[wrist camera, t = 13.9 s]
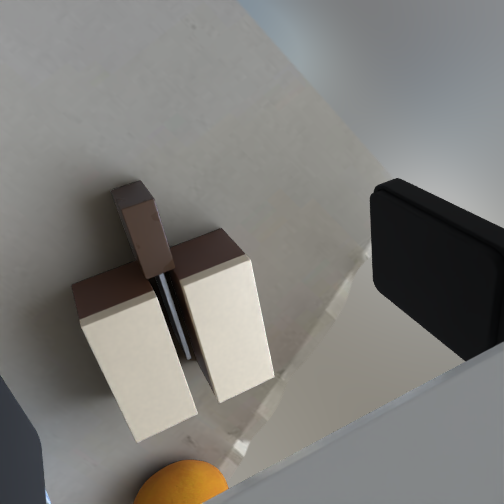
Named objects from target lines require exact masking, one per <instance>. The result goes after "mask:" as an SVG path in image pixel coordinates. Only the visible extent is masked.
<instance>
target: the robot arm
mask: <svg viewBox="0 0 504 504" xmlns="http://www.w3.org/2000/svg"><path fill="white" fill-rule="evenodd" d="M370 217H371V243H372V268H373V282H374V285H375V287H376V288H377V290H378V291H379V292H380V293H381V294H383V295H384V296H385V297H386V298H388V299H389V300H390V301H391V302H393V303H394V304H395V305H396V306H398V307H399V308H400V309H401V310H403V311H404V312H405V313H406V314H407V315H409V316H410V317H411V318H412V319H414V320H415V321H416V322H417V323H419V324H420V325H421V326H422V327H423V328H425V329H426V330H427V331H428V332H430V333H431V334H432V335H433V336H435V337H436V338H437V339H438V340H440V341H441V342H442V343H443V344H445V345H446V346H447V347H448V348H450V349H451V350H452V351H454V353H456V354H457V355H458V356H460V357H461V358H462V359H463V360H465V361H466V362H464V363H462V364H460V365H459V366H457V367H455V368H453V369H451V370H449V371H447V372H445V373H443V374H442V375H440V376H438V377H436V378H434V379H432V380H430V381H428V382H426V383H424V384H423V385H421V386H419V387H417V388H415V389H413V390H411V391H409V392H408V393H406V394H404V395H402V396H400V397H398V398H396V399H394V400H393V401H391V402H389V403H387V404H385V405H383V406H381V407H379V408H378V409H376V410H374V411H372V412H370V413H368V414H366V415H365V416H363V417H361V418H359V419H357V420H355V421H353V422H351V423H350V424H348V425H346V426H344V427H342V428H340V429H338V430H337V431H335V432H333V433H331V434H329V435H327V436H325V437H324V438H322V439H320V440H318V441H316V442H314V443H312V444H311V445H309V446H307V447H305V448H303V449H301V450H299V451H298V452H296V453H294V454H292V455H290V456H288V457H286V458H284V459H283V460H281V461H279V462H277V463H276V464H273V465H272V466H270V467H268V468H266V469H264V470H263V471H261V472H259V473H257V474H255V475H253V476H252V477H250V478H248V479H246V480H244V481H242V482H240V483H239V484H237V485H235V486H233V487H231V488H229V489H227V490H226V491H224V492H222V493H220V494H218V495H216V496H215V497H213V498H211V499H209V500H207V501H205V502H203V503H202V504H504V228H502V227H500V226H498V225H495V224H493V223H491V222H489V221H487V220H485V219H483V218H481V217H479V216H477V215H474V214H473V213H471V212H469V211H466V210H464V209H462V208H460V207H458V206H456V205H454V204H452V203H450V202H448V201H446V200H444V199H441V198H439V197H437V196H435V195H433V194H431V193H429V192H427V191H425V190H423V189H421V188H418V187H417V186H414V185H412V184H410V183H408V182H406V181H404V180H402V179H399V178H396V179H393V180H390V181H387V182H385V183H382V184H380V185H377V186H376V187H375V189H374V193H372V194H371V196H370ZM0 504H46V493H45V482H44V471H43V459H42V448H41V442H40V439H39V436H38V434H37V432H36V430H35V428H34V427H33V425H32V424H31V422H30V420H29V419H28V417H27V416H26V414H25V413H24V411H23V410H22V408H21V407H20V405H19V404H18V402H17V400H16V399H15V397H14V396H13V394H12V393H11V391H10V390H9V388H8V387H7V385H6V383H5V382H4V380H3V379H2V377H1V376H0Z"/></svg>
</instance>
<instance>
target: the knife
mask: <svg viewBox="0 0 504 504" xmlns="http://www.w3.org/2000/svg"><path fill="white" fill-rule="evenodd" d="M111 194H112V196H113V199H114V202H115V205H116V207H117V210H118V213H119V216H120V218H121V221H122V224H123V227H124V229H125V232H126V235H127V238H128V240H129V243H130V246H131V249H132V251H133V254H134V257H135V259H136V261H137V263H138V265H139V267H140V269H141V271H142V273H143V275H144V277H145V279H149V278H152V277H154V276H155V279H156V282H157V285H158V288H159V291H160V294H161V297H162V300H163V302H164V305H165V308H166V311H167V314H168V317H169V320H170V323H171V326H172V328H173V331H174V334H175V336H176V338H177V340H178V342H179V344H180V346H181V348H182V350H183V352H184V354H185V356H186V358H187V360H188V359H190V358H192V357H191V354H190V351H189V348H188V345H187V342H186V339H185V336H184V333H183V330H182V327H181V324H180V321H179V318H178V315H177V312H176V309H175V306H174V303H173V300H172V297H171V294H170V291H169V288H168V285H167V282H166V279H165V276H164V273H165V272H167V271H170V270H172V269H175V263H174V260H173V257H172V254H171V251H170V247H169V244H168V241H167V238H166V235H165V231H164V228H163V225H162V222H161V219H160V215H159V212H158V209H157V206H156V203H155V199H154V198H153V196H152V195H151V194H150V192H149V191H148V190H147V188H146V187H145V185H144V184H143V183H142V181H138V182H135V183H132V184H129V185H126V186H123V187H120V188H117V189H114V190H111Z"/></svg>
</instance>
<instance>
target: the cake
mask: <svg viewBox="0 0 504 504" xmlns="http://www.w3.org/2000/svg"><path fill="white" fill-rule="evenodd" d="M170 251H171V254H172V257H173V260H174V263H175V269H172V270H170V271H168V273H169V276H170V279H171V282H172V285H173V288H174V291H175V294H176V298H177V301H178V304H179V307H180V310H181V313H182V316H183V319H184V322H185V325H186V329H187V332H188V335H189V338H190V341H191V344H192V347H193V350H194V353H195V356H196V360H197V362H198V364H199V366H200V368H201V370H202V372H203V374H204V376H205V377H206V379H207V381H208V383H209V385H210V387H211V389H212V391H213V393H214V395H215V397H216V398H217V400H218V402H219V403H221V402H223V401H225V400H228V399H230V398H232V397H234V396H236V395H238V394H240V393H242V392H244V391H246V390H248V389H250V388H252V387H255V386H257V385H259V384H261V383H263V382H265V381H267V380H269V379H271V378H273V377H274V372H273V367H272V362H271V357H270V352H269V347H268V342H267V338H266V333H265V328H264V323H263V318H262V313H261V308H260V303H259V299H258V294H257V289H256V284H255V279H254V274H253V269H252V264H251V260H250V258H249V257H248V256H247V255H246V254H245V253H244V252H243V251H242V250H241V249H240V248H239V246H238V245H237V244H236V243H235V242H234V241H233V240H232V239H231V238H230V237H229V235H228V234H227V233H226V232H225V231H224V230H223V229H222V228H221V229H218V230H216V231H213V232H210V233H208V234H205V235H202V236H200V237H197V238H194V239H192V240H189V241H186V242H184V243H181V244H178V245H176V246H173V247H170ZM71 286H72V291H73V295H74V299H75V303H76V308H77V312H78V316H79V320H80V325H81V328H82V330H83V333H84V335H85V337H86V339H87V341H88V343H89V345H90V347H91V349H92V351H93V353H94V355H95V358H96V360H97V362H98V364H99V366H100V368H101V370H102V372H103V374H104V376H105V378H106V380H107V383H108V385H109V387H110V389H111V391H112V393H113V395H114V397H115V399H116V401H117V403H118V405H119V408H120V410H121V412H122V414H123V416H124V418H125V420H126V422H127V424H128V426H129V428H130V430H131V433H132V435H133V437H134V439H135V441H136V443H138V442H140V441H142V440H145V439H147V438H149V437H151V436H153V435H155V434H157V433H159V432H161V431H163V430H165V429H167V428H169V427H172V426H174V425H176V424H178V423H180V422H182V421H184V420H186V419H188V418H190V417H192V416H194V415H196V414H198V413H197V410H196V407H195V404H194V401H193V399H192V396H191V393H190V390H189V387H188V384H187V381H186V379H185V376H184V373H183V370H182V367H181V364H180V362H179V359H178V356H177V353H176V350H175V347H174V344H173V342H172V339H171V336H170V333H169V330H168V327H167V324H166V322H165V319H164V316H163V313H162V310H161V307H160V304H159V302H158V299H157V296H156V294H155V292H154V290H153V288H152V286H151V284H150V282H149V280H148V279H145V277H144V275H143V273H142V271H141V269H140V267H139V265H138V263H137V261H133V262H131V263H128V264H125V265H123V266H120V267H117V268H115V269H112V270H109V271H107V272H104V273H101V274H99V275H96V276H93V277H91V278H88V279H85V280H83V281H80V282H77V283H75V284H72V285H71Z"/></svg>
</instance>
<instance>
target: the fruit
mask: <svg viewBox="0 0 504 504" xmlns="http://www.w3.org/2000/svg"><path fill="white" fill-rule="evenodd" d="M227 489H229V488H228V485H227V483H226V480H225V478H224V477H223V475H222V473H221V472H220V471H219V470H218V469H217V468H216V467H214V466H213V465H211V464H209V463H207V462H204V461H197V460H181V461H178V462H175V463H173V464H170V465H168V466H166V467H164V468H163V469H161V470H159V471H158V472H157V473H155V474H154V475H153V476H151V477H150V478H149V479H148V480H147V481H146V482H145V483H144V484H143V486H142V487H141V489H140V490H139V492H138V494H137V496H136V498H135V500H134V503H133V504H202V503H203V502H205V501H207V500H209V499H211V498H213V497H215V496H216V495H218V494H220V493H222V492H224V491H226V490H227Z"/></svg>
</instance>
